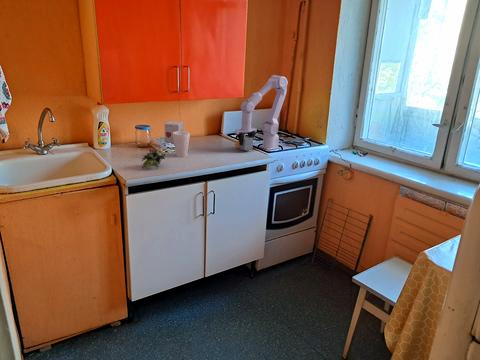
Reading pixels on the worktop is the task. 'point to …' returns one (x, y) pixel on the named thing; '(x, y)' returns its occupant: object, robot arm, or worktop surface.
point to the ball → (237, 144)
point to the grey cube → (247, 143)
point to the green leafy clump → (153, 158)
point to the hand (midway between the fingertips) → (245, 144)
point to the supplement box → (172, 130)
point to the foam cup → (181, 142)
